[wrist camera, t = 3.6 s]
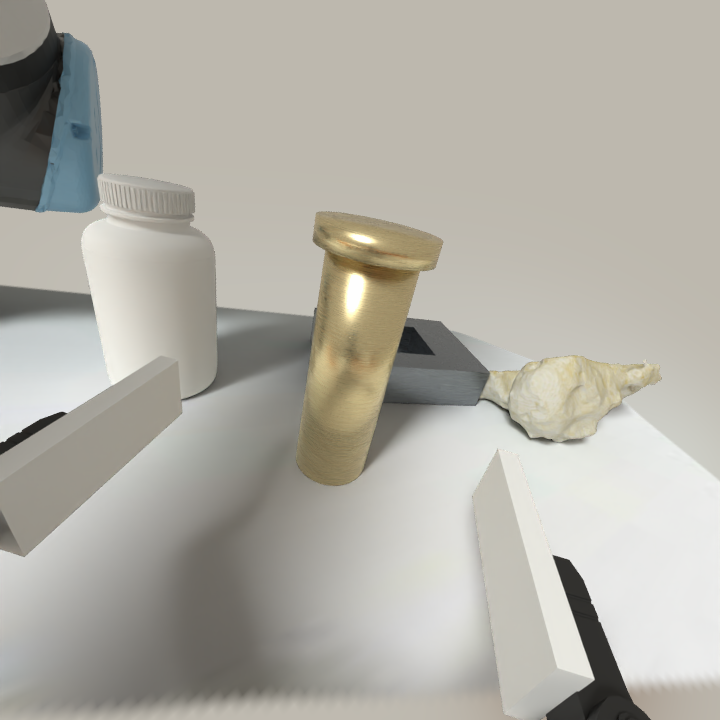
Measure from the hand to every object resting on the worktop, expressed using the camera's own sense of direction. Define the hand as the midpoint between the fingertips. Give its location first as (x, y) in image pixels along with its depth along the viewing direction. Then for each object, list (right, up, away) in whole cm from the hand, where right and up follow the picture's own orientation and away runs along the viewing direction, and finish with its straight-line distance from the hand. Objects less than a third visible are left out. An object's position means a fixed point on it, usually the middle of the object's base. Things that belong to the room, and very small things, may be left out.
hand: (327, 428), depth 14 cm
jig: (+4, +2, +23) cm, 24 cm away
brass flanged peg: (-1, -4, +11) cm, 12 cm away
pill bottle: (-15, +1, +15) cm, 21 cm away
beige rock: (+21, -3, +22) cm, 30 cm away
